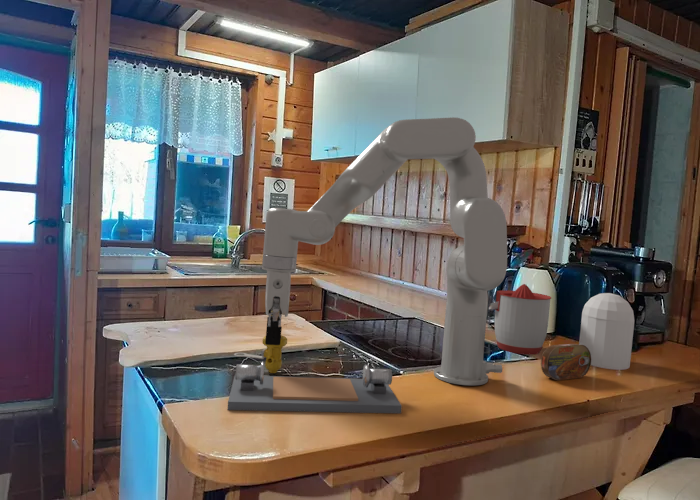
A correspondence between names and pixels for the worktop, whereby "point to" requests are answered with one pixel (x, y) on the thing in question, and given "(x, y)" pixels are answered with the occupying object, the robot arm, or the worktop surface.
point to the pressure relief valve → (270, 355)
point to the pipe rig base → (312, 396)
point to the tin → (566, 361)
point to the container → (608, 331)
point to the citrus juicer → (521, 320)
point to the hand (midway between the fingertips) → (272, 339)
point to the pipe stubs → (369, 377)
